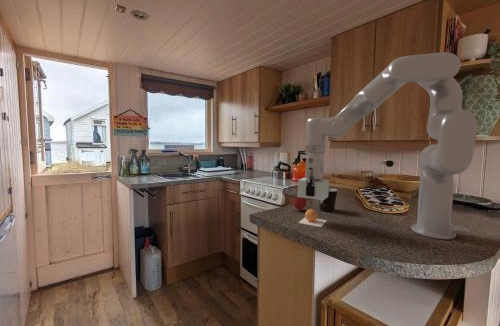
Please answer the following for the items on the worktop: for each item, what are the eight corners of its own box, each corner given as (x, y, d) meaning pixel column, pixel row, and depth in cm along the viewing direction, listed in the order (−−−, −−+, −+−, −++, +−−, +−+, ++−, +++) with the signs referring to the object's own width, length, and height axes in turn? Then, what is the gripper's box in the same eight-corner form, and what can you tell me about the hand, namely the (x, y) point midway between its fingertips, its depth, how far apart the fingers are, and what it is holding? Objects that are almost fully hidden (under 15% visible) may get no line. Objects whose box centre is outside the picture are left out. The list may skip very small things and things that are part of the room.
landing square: (326, 220, 99) (326, 220, 99) (321, 227, 91) (321, 226, 91) (305, 217, 103) (305, 216, 103) (298, 223, 96) (298, 222, 96)
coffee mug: (339, 213, 110) (340, 191, 109) (320, 212, 110) (320, 191, 110) (331, 206, 122) (331, 186, 121) (313, 206, 122) (314, 186, 121)
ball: (305, 214, 102) (315, 221, 100) (301, 217, 97) (311, 225, 96) (311, 205, 100) (321, 212, 98) (307, 208, 96) (318, 216, 94)
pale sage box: (328, 196, 97) (329, 179, 97) (323, 200, 91) (324, 182, 90) (303, 193, 102) (304, 177, 102) (297, 196, 96) (298, 179, 95)
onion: (298, 213, 110) (299, 195, 109) (290, 209, 115) (291, 193, 114) (308, 211, 112) (309, 194, 112) (300, 208, 117) (300, 192, 117)
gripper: (318, 150, 85) (316, 199, 87) (329, 149, 100) (327, 191, 102) (298, 150, 89) (296, 196, 91) (312, 149, 104) (310, 189, 106)
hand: (313, 193), depth 96 cm, fingers closed on pale sage box, 7 cm apart
